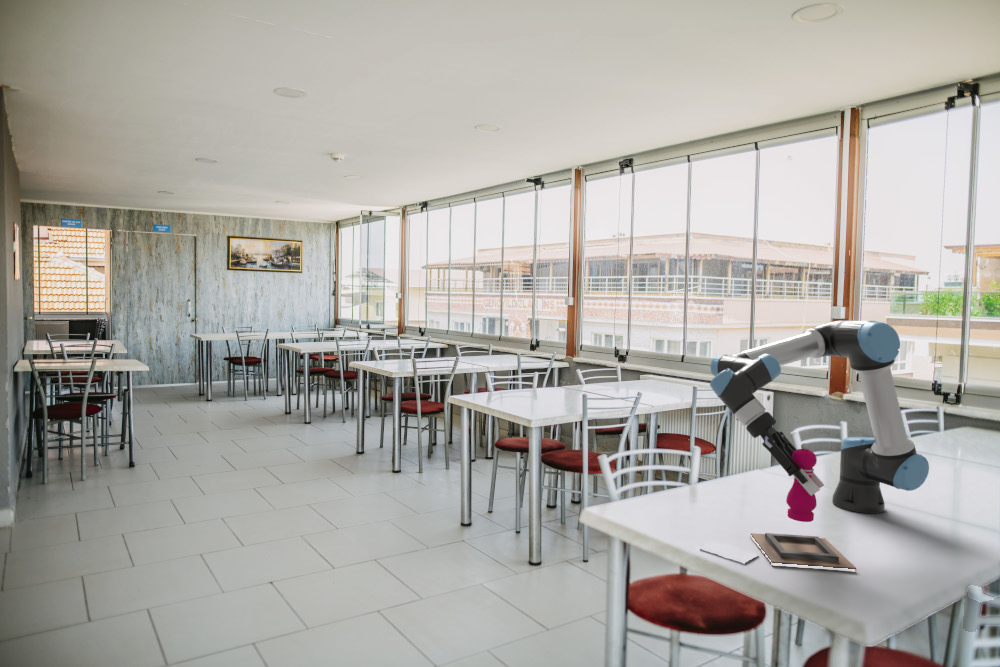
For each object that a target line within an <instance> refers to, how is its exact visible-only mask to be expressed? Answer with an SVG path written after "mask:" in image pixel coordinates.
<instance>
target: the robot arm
mask: <svg viewBox="0 0 1000 667" xmlns="http://www.w3.org/2000/svg"><path fill="white" fill-rule="evenodd" d="M900 348H901V340H900V336H899V334H898V333H897V331H896V329H895V328H894V327H892V326H891V325H889V324H888V323H885V322H879V321H876V320H849V319H840V320H835V321H834V320H833V321H831V322H827V323H823V324H820V325H817V326H814V327H810V328H806V329H805V330H803V332H802V333H801V334H797V335H795V336H792V337H788V338H784V339H782V340H781V339H780V340H778V341H774V342H771V343H769V344H764V345H760V346H758V347H754V348H750V349H748V350H744V351H741V352H736V353H733V354H729V355H728V354H717V355H716V356H714V357H713V359H712V360H711V362H710V372H711V374H712V375H713V377H712V379H711V380H710V382H709V386H710V388H711V389H712V391H713V393H715V395H716V397H717V398H719V399H720V400H721V401H722V403H723V404H724V405H725V406H726V407H727V408H728V410H729V411H730V412H731V413H732V414H733V415H734V416H735V421H736V422H740V423H741V425H742V426H746V427H745V428H746V431H747V432H748V433H749V435H751V437H752V438H754V439H756V438H758V437H759V436H760V437H761V439H762V440H763V442H762V443H761V444H762V446H763V447H764V448H765V449H766V450H767V451H768V452H769V453H770V454H771V456H772V457H773V458H774V459H775V460H776V461H777V462H778V464H779V465H780V466H781V468H783V469H784V471H785V472H786V473H787V475H788V476H789V477H792V476H793V477H795V478H796V479H797V480H798V481H799V483H800V484H801V485H802V486H803V487H804V488H805V490H806V491H807V492H808V493H809V494H810V495H811V496H812V495H813V494H815V495H816V493H818V492H819V491H820V490H821V488H823V487H824V486H825V483H823V481H822V480H821V479H820V478H819V476H817V475H816V473H815V472H814V471H813V473H814V474H813V475H812V477H811V478H810V477H809V476H808V475H807V474H806V473H805V472H804V470H803V469H801V470H800V468H799V467H798V465H797V464H796V463H795V461H794V460H793V459H792V454H793V452H794V451H795V450H798V448H796V447H795V446H794V445H793V443H792V442H791V441H790V440H789V439H788V438H787V436H786V435H785V434H784V432H783V431H777V430H776V429H775V428H774V427H773V426H774V425H776V423H777V420H776V419H775V418H774V417H773V416H772V415H771V413H770V412H768V411H766V410H767V409H766V407H765V406H764V405H763V404H762V403H761V402H760V401H759V400H758V399H757V397H756V396H755V395H754V393H755V392H757V391H759V390H761V389H762V388H763V387H765V386H766V385H768V384H771V382H773V381H774V380H775V379H776V378H778V377H779V376H780V374H781V372H782V368H781V367H782V366H784V365H788V364H791V363H794V362H797V361H802V360H804V359H808V358H812V359H819V358H822V357H839V358H848V361H849V364H850V368H851V370H853V371H855V372H856V373H858V374H857V375H858V376H859V380H860V386H861V390H862V394H863V398H864V402H865V406H866V410H867V413H868V417H869V422H870V425H871V426H870V427H871V430H872V433H873V434H872V435H873V437H871V436H870V437H867V436H866V437H865V436H850V437H848V436H847V437H845V438H843V439H842V442H841V448H840V464H839V465H840V467H839V469H840V471H839V481H838V483H837V486H836V487H835V490H834V492H833V494H832V504H833V505H835V506H836V507H839V508H841V509H843V510H847V511H851V512H855V513H862V514H881V513H884V512H885V506H886V505H885V500H884V497H883V494H882V490H881V484H884V485H887V486H890V487H893V488H895V489H897V490H903V491H906V492H907V491H908V492H910V491H915V490H917V489H918V488H919V489H920V487H921V486H922V485H923V484H924V483H925V481H926V479H927V478H928V475H929V472H930V465H929V461H928V459H927V458H926V457H925V456H923V455H922V454H920V453H917V450H916V445H915V443H914V441H913V440H911V439H909V438H908V436H907V433H906V428H905V423H904V420H903V416H902V410H901V407H900V402H899V399H898V394H897V391H896V386H895V382H894V378H893V373H892V369H891V367H892V366H893V365H895V364H894V363H895V362H896V361H895V359H896V358H897V356H898V355H899V353H900V351H899V349H900Z"/></svg>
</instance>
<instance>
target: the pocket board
mask: <svg viewBox="0 0 1000 667" xmlns="http://www.w3.org/2000/svg"><path fill="white" fill-rule="evenodd" d="M751 535H752V537H753V538H754V539H755V541H756V542H757V543H758V544H759V546H760V547H761V549H762V550H763V551H764V552H765V554H766V555H767V556H768V558H769V559H770V560H771V562H772V563H782V564H797V565H808V566H823V567H833V568H848V569H856V570H857V567H856V566H855V565H854V564H853V563H852V562H851V561H850V560H848V558H847V557H845V556H844V555H843V554H842V553H841V552H840V551H839V550H838V549H837V548H836V547H835V546H834V545H832V543H831V542H829V540H828V539H826V538H824V537H820V536H814V535H804V534H803V535H801V534H788V533H787V534H785V533H771V532H765V533H753V532H750V536H751Z"/></svg>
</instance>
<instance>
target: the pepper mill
mask: <svg viewBox="0 0 1000 667" xmlns="http://www.w3.org/2000/svg"><path fill="white" fill-rule="evenodd" d="M792 459H793V460H794V461H795V463H796V464H797V465H798V467H799V468H800V470H801V469H803V470H804V472H805V473H806V474H807V475H808V476H809V477H810V478H811V477H812V475H813V474H814V473H815V472H814V471H815V469H814V467H815V466H816V465H817V462H818V460H817V455H816V454H815V452H814V451H812V450H810V449H809V445H808V443H801V445H800V448H797V450H795V451H794V452H793V454H792ZM813 472H814V473H813ZM793 477H794V476H793ZM785 502H786V504H787V506H788V507H789V508H788V509H787V517H788V518H789V519H790V520H794V521H797V522H802V523H810V522H813V521H814V518H815V517H814V516H815V513H814V512H813V511H814V510H815V509H816V507H817V497H816V493H815V494H813V495H812V496H811V495H810V494H809V493H808V492H807V491H806V490H805V488H804V487H803V486H802V485H801V484H800V483H799V481H798V480H797V479H796V478H795V477H794V478H793V483H792V485H791V488H790V489H789V491H788V493H787V495H786V501H785Z"/></svg>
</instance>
